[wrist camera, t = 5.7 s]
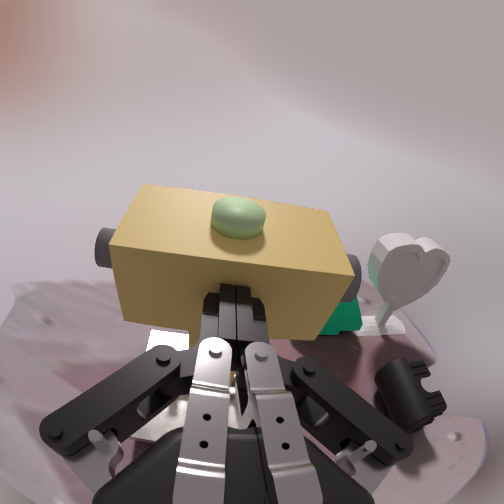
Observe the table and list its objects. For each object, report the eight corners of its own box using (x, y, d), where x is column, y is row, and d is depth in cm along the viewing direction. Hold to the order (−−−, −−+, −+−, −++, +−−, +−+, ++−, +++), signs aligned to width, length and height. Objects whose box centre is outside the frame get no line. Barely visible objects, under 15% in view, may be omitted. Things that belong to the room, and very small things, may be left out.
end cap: (364, 386, 35) (387, 358, 31) (399, 380, 36) (423, 353, 33) (386, 444, 26) (416, 421, 23) (422, 432, 28) (452, 407, 24)
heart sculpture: (347, 336, 44) (394, 242, 34) (337, 316, 48) (378, 225, 39) (412, 332, 46) (458, 254, 37) (401, 315, 51) (442, 239, 42)
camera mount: (345, 305, 50) (364, 258, 45) (356, 335, 43) (381, 286, 38) (282, 301, 49) (296, 250, 44) (288, 333, 42) (305, 280, 37)
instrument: (127, 390, 23) (69, 225, 11) (138, 341, 28) (114, 170, 16) (285, 405, 26) (392, 268, 13) (280, 357, 30) (357, 207, 18)
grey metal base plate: (133, 445, 22) (123, 425, 19) (152, 343, 35) (150, 312, 32) (273, 457, 24) (290, 439, 21) (262, 355, 37) (272, 326, 34)
